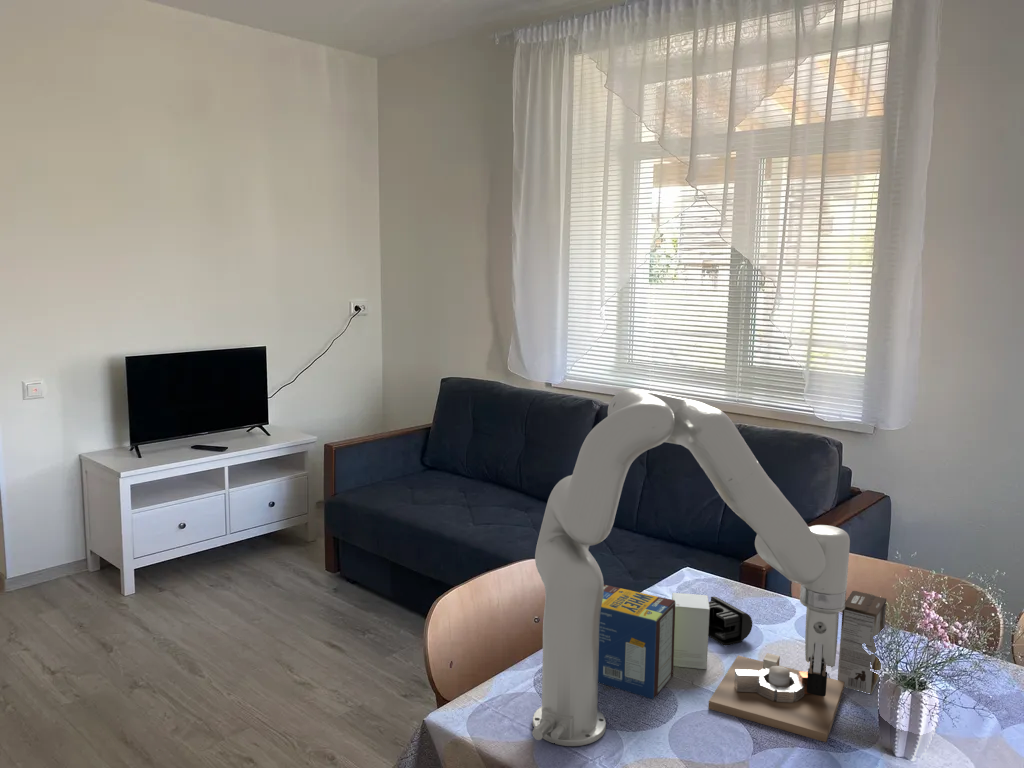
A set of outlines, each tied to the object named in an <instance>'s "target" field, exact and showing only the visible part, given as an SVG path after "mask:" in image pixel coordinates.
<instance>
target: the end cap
mask: <svg viewBox="0 0 1024 768" xmlns="http://www.w3.org/2000/svg"><path fill="white" fill-rule="evenodd" d="M709 607H710V612H709V631H708V638H710V639H712V640H714V641H715V642H717V643H719V644H720V645H722V646H723V647H728V646H733V645H736V644H740V643H742V642H743V640H745V639H747V637H749V635H750V634H751V631H752V628H753V620H752V617H751V616H750V615H749V614H748V613H747V612H744V611H743V610H741V609H739V608H737V607H735V606H734V605H732V604H730V603H728V602H727V601H726V600H723V599H721V598H719V597H717V596H710V601H709Z"/></svg>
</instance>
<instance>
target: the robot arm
mask: <svg viewBox="0 0 1024 768" xmlns="http://www.w3.org/2000/svg"><path fill="white" fill-rule="evenodd" d="M664 443H669V444H674V445H681V446H682V447H684V448H686V449H687V450H688V451H689V452H690V453H691V454H692V456H693V457H694V459H695V460H696V462H697V464H698V465H699V466H700V468H701V469H702V470H703V472H704V473H705V475H706V476H707V478H708V479H709V481H710V482H711V483H712V485H713V487H714V488H715V490H716V491H717V493H718V495H719V496H720V498H721V499H722V500H723V502H724V503H725V504H726V505H727V506H728V508H730V509H731V511H733V513H735V515H736V516H738V517H739V518H740V519H741V520H742V521H744V522H745V523H746V524H747V525H748V526H749V527H750V528H751V529H752V530H753V531H754V532H755V533H756V536H755V540H754V547H755V550H756V553H757V554H758V556H759V557H760V559H762V560H763V561H764V562H765V563H767V564H768V565H769V566H771V568H772V569H775V570H776V571H777V572H779V574H781V575H783V576H784V577H785V578H786V579H787V580H789V581H790V582H792V583H794V584H797V585H798V584H799V585H800V594H799V595H800V596H799V601H800V603H801V605H803V606H804V607H805V608H806V613H805V631H804V633H805V638H804V639H805V641H804V644H805V645H804V646H805V647H804V648H805V649H804V651H805V652H804V653H805V655H804V657H805V661H806V663H809V667H808V669H807V672H808V678H807V693H809V694H814V695H819V696H825V695H826V684H827V678H828V671H827V667H830V668H834V667H835V666H836V661H837V659H836V657H837V647H838V646H837V645H838V634H839V633H838V631H839V621H840V619H839V613H840V612H842V611H843V610H844V609H845V603H846V600H847V587H848V586H847V585H848V576H849V575H848V574H849V573H848V572H849V563H850V562H849V561H850V560H849V557H850V548H851V547H850V546H851V545H850V544H851V540H850V539H851V538H850V535H849V533H848V532H847V531H846V530H844V529H843V528H839V527H837V526H833V525H827V524H815V525H811V526H808V524H807V522H806V521H805V520H804V519H803V517H802V516H801V515H800V513H799V512H798V510H797V509H796V508H795V507H794V506H793V504H791V502H790V501H789V500H788V499H787V498H786V496H785V495H784V494H783V492H782V491H781V490H780V488H779V487H778V486H777V484H775V483H774V482H773V480H772V479H771V478H770V476H768V474H767V473H766V471H765V470H764V468H763V467H762V466H761V464H760V462H759V461H758V459H757V458H756V456H755V455H754V453H753V451H752V450H751V448H750V447H749V445H748V444H747V443H746V441H745V439H744V437H743V436H742V434H741V433H740V431H739V429H738V428H737V426H736V425H735V423H734V422H733V421H732V419H731V418H730V417H729V416H728V415H727V414H726V413H725V412H724V411H722V410H721V409H719V408H716V407H714V406H711V405H710V404H706V403H704V402H702V401H699V400H694V399H688V398H684V397H683V398H682V397H677V396H672V395H669V394H664V393H659V392H654V391H648V390H645V389H640V388H626V389H623V390H621V391H619V392H618V393H616V394H615V395H614V396H613V397H612V399H611V400H610V401H609V404H608V407H607V416H606V417H605V418H604V419H602V420H601V421H599V423H597V424H596V425H595V426H594V427H593V428H592V429H591V430H590V432H589V433H588V434H587V436H586V437H585V439H584V441H583V443H582V445H581V446H580V449H579V453H578V456H577V459H576V461H575V466H574V468H573V471H572V474H571V475H567V476H565V477H563V478H562V479H560V480H559V481H558V482H557V483H556V484H555V486H554V487H553V489H552V490H551V492H550V494H549V496H548V499H547V503H546V507H545V511H544V514H543V518H542V522H541V525H540V530H539V533H538V534H539V535H538V537H537V538H538V539H537V542H536V543H537V544H536V548H535V553H534V561H535V566H536V570H537V573H538V574H539V576H540V579H541V581H542V583H543V585H544V590H545V591H544V592H545V593H544V594H545V600H544V601H545V602H544V611H543V622H542V669H541V671H542V673H541V674H542V676H541V677H542V678H541V681H542V682H541V690H542V691H541V706H539V708H537V709H536V711H534V713H533V715H532V727H533V726H534V728H533V730H532V736H533V738H534V739H535V740H537V741H541V740H542V739H543V740H544V741H547V742H549V743H551V744H554V743H555V745H557V746H558V745H559V746H563V747H580V746H585V745H590V744H592V743H595V742H597V741H598V740H599V739H601V738H602V737H603V735H604V734H605V732H606V729H607V728H606V727H607V719H606V717H605V715H604V714H603V713H602V712H601V710H599V709H598V698H599V697H598V695H599V694H598V693H599V690H598V689H599V683H598V662H599V624H600V612H601V606H602V600H603V593H604V585H605V583H604V581H605V580H604V576H603V573H602V570H601V568H600V565H599V563H598V561H596V558H595V557H594V556H593V555H592V553H591V552H590V551H589V549H590V546H595V545H598V544H600V543H601V542H603V541H604V540H605V539H606V538H608V536H609V535H610V533H611V532H612V528H613V526H614V523H615V518H616V514H617V510H618V507H619V504H620V503H619V502H620V498H621V495H622V491H623V487H624V483H625V480H626V477H627V475H628V472H629V469H630V467H631V466H632V463H633V462H634V461H635V460H637V458H638V457H640V455H642V454H643V453H645V452H646V451H648V450H651V449H653V448H657V447H658V446H660V445H662V444H664Z"/></svg>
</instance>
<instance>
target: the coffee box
mask: <svg viewBox="0 0 1024 768" xmlns="http://www.w3.org/2000/svg"><path fill="white" fill-rule="evenodd" d="M885 603H886V604H885ZM886 608H887V598H885V597H883V596H882V597H881V596H877V595H874V594H870V593H867V592H861V591H857V590H851V593H850V594H849V595H848V597H847V598H846V603H845V609H844V610H843V611H841V612H842V613H841V624H840V625H841V628H840V640H839V641H840V644H839V653H838V654H839V657H838V668H837V669H838V671H837V680H839V681H843V682H845V684H844V688H846V687H847V688H846V689H849V688H850V689H849V690H852V689H855V690H854V691H856V690H859V691H863V692H866V693H870V694H871V695H873V692H874V691H875V688H876V687H877V684H878V682H879V680H880V678H879V675H878V674H876V673H874V672H872V671H870V669H871V667H870V662H871V665H872V669H874V670H880V669H881V670H882V668H881V663H880V661H879V659H878V658H877V657H876V656H875V655H874V654H871V655H869V654H868V653H867V652H866V651H865V650H864V649H863V648H862V644H863V643H865V644H866V647H867V648H868V649H869V650H870V651H871V652H873V653H875V652H876V647H875V643H874V639H873V636H875V635H877V634H878V633H879V632H880V631H881V630H882V629H883V628H884V629H885V623H886V610H887V609H886ZM859 691H858V692H859ZM866 693H865V694H866Z"/></svg>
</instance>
